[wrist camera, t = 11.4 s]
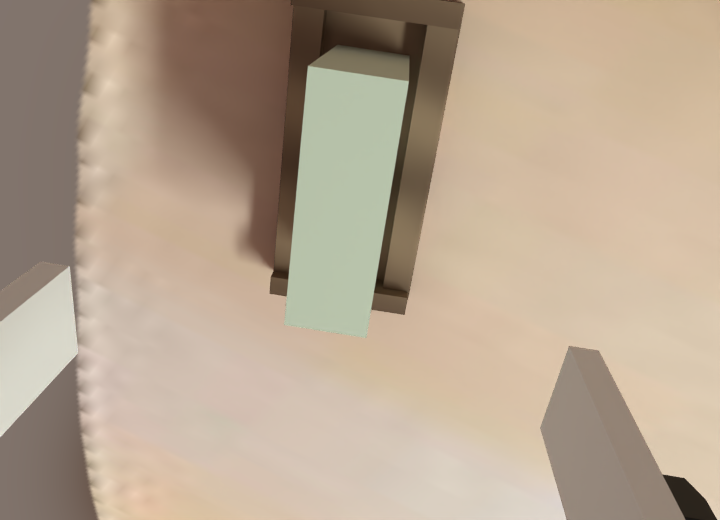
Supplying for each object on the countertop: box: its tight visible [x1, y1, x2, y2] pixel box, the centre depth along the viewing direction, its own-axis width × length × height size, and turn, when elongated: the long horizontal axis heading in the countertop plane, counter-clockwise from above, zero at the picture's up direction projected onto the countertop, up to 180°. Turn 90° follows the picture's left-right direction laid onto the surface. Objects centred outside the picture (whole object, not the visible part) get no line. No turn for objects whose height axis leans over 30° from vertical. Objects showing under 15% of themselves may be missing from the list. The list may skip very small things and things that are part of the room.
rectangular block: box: [284, 45, 410, 338], centre depth 30 cm, size 12×4×10 cm, turn 172°
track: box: [270, 0, 465, 315], centre depth 34 cm, size 18×9×3 cm, turn 172°
